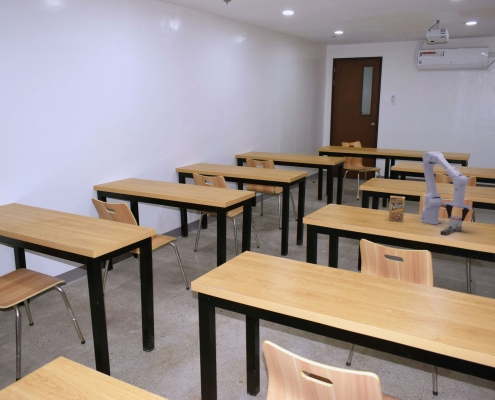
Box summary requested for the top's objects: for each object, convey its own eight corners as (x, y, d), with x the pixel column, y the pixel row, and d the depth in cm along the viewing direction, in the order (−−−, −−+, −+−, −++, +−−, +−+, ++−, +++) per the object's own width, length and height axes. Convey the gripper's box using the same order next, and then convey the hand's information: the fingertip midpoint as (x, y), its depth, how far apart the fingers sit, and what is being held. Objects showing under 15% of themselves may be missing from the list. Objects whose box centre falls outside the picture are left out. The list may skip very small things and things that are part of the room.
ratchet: (436, 233, 247) (437, 225, 246) (451, 227, 259) (452, 219, 258) (449, 236, 242) (450, 227, 241) (463, 230, 254) (464, 222, 253)
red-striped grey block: (448, 225, 254) (449, 216, 253) (452, 224, 257) (453, 215, 256) (457, 227, 250) (458, 218, 249) (461, 226, 253) (462, 217, 252)
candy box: (388, 220, 274) (390, 196, 271) (388, 219, 278) (390, 195, 275) (402, 222, 271) (405, 198, 268) (403, 220, 275) (405, 196, 272)
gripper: (443, 195, 253) (440, 217, 256) (469, 199, 242) (466, 223, 245) (448, 193, 257) (446, 216, 260) (474, 197, 247) (471, 221, 250)
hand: (456, 219), depth 253 cm, fingers open, 7 cm apart
